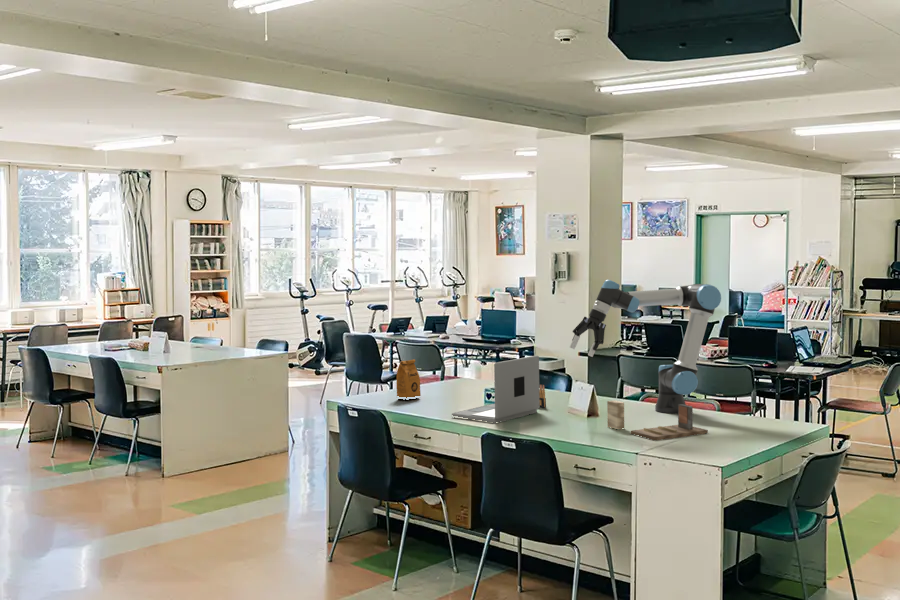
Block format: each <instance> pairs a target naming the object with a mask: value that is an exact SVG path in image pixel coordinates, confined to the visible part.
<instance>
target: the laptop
mask: <svg viewBox="0 0 900 600" xmlns="http://www.w3.org/2000/svg"><path fill="white" fill-rule="evenodd" d="M493 367H494V369H493V373H494V375H493V376H494V377H493V378H494V386H493V387H494V403H491V404H487V405H483V406H478V407H474V408H469V409H465V410H461V411H456V412H453V413H451V416H452V415H453V416H458V417H463V418H468V419H475V420H482V421H487V422H493V423H492V424H497V423H496V422H499V423H501V422H500V421H503V422H507V421H510V419H511V420H514V419H518V418H521V417H522V418H523V417H525V416H529V414H530V415H533V414H536V413H537V412H538V410H539V409H540V408H539V407H540V402H539V390H540V357H539V356H538V355H531V356H526V357H521V358H514V359H510V360H509V359H508V360H503V361H498V362H495V363H494V365H493ZM506 420H507V421H506Z"/></svg>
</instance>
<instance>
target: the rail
mask: <svg viewBox="0 0 900 600" xmlns="http://www.w3.org/2000/svg"><path fill="white" fill-rule="evenodd" d="M693 415H694V413H693V406H692V405H687V404H686V405H683V404H680V405H678V413H677V418H678V420H677V421H678V422H677V424H673V425H665V426H661V425H658V426H656V427H650V428H648V427H643V429H632V430H630V435H632V434H635V435H634V436H636V435H639V436H638V437H640V436H642V437H641V438H643V437H646V438H645V439H647V438H649V439H648V440H650V439H652V441H654V440H656V441H662V440H661V439H663V440H669V439H679V438H685V437H691V436H690V435H693V436H698V435H697V434H700V435H706V434H705V433H708V434H709V431H708V429H706V428H701V427H696V426H694V425H693V423H694V419H693V418H694V416H693Z"/></svg>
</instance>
